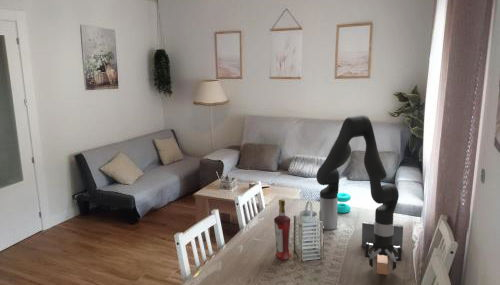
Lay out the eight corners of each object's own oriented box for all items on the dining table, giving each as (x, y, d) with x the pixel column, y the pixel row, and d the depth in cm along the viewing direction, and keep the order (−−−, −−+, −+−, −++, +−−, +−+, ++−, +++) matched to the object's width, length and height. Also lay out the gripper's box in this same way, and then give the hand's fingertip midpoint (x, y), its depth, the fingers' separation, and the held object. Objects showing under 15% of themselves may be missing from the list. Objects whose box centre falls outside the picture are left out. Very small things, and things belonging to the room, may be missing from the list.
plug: (377, 273, 154) (377, 262, 153) (377, 250, 173) (377, 240, 172) (387, 274, 153) (387, 263, 152) (386, 251, 171) (386, 241, 170)
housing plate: (361, 246, 177) (362, 223, 175) (361, 244, 179) (362, 221, 177) (402, 251, 171) (403, 226, 169) (401, 249, 173) (402, 225, 171)
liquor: (272, 256, 171) (270, 198, 166) (286, 252, 174) (285, 196, 169) (279, 263, 165) (278, 204, 159) (294, 259, 167) (293, 201, 162)
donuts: (334, 197, 216) (332, 192, 225) (334, 213, 218) (332, 207, 227) (352, 197, 215) (349, 191, 224) (351, 213, 217) (348, 207, 226)
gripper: (365, 233, 151) (364, 270, 154) (402, 237, 146) (401, 274, 149) (365, 226, 158) (365, 261, 161) (401, 229, 153) (400, 265, 156)
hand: (382, 267), depth 155 cm, fingers open, 8 cm apart
